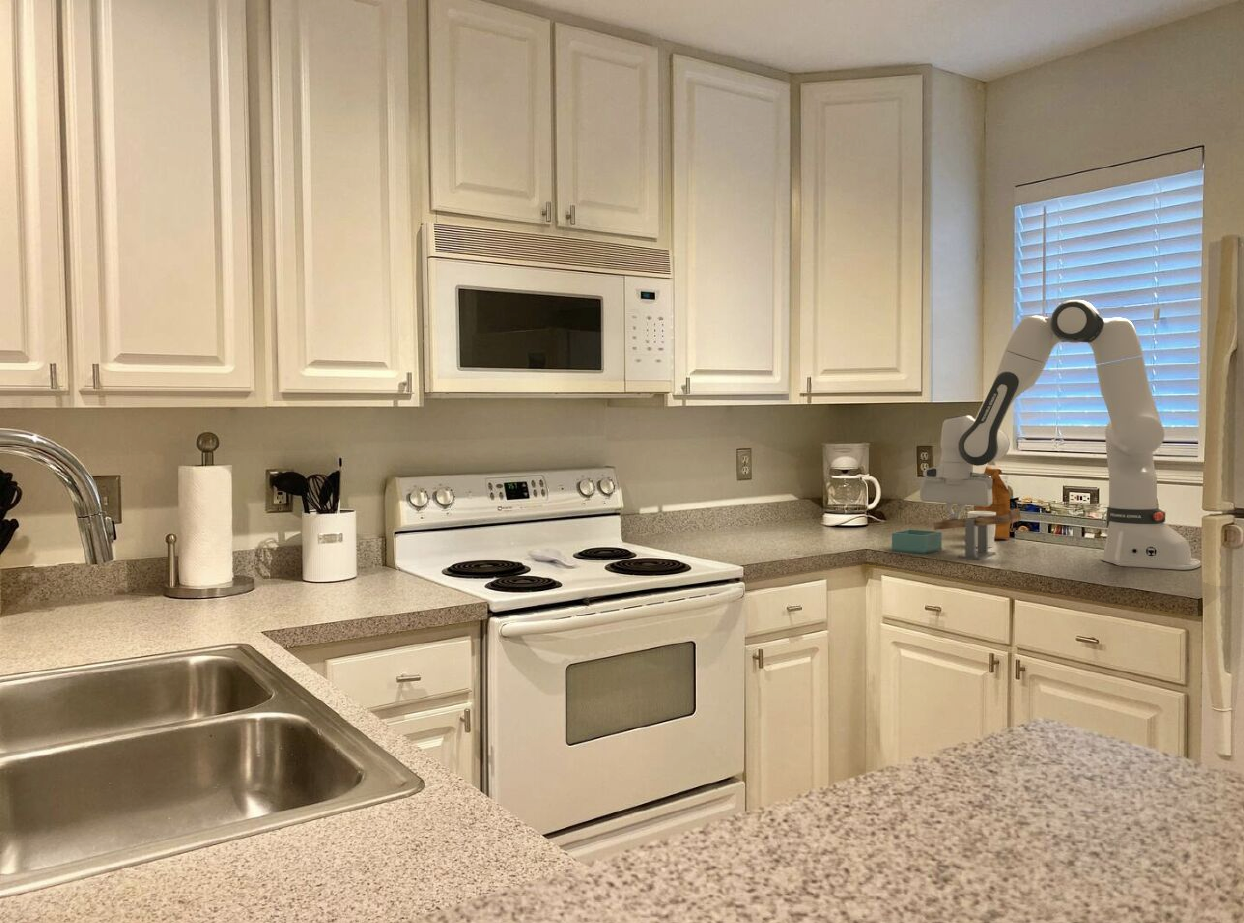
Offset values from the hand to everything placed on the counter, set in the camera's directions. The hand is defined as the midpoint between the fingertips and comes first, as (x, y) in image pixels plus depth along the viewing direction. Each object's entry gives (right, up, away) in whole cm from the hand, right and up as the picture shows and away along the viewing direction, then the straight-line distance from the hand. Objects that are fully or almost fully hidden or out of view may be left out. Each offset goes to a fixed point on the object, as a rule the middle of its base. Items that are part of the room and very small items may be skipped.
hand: (955, 519), depth 272 cm
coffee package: (+19, -7, +22) cm, 30 cm away
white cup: (+10, -8, +7) cm, 15 cm away
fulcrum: (+2, -9, -10) cm, 14 cm away
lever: (+4, -1, -9) cm, 10 cm away
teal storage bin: (-10, -9, +2) cm, 14 cm away
